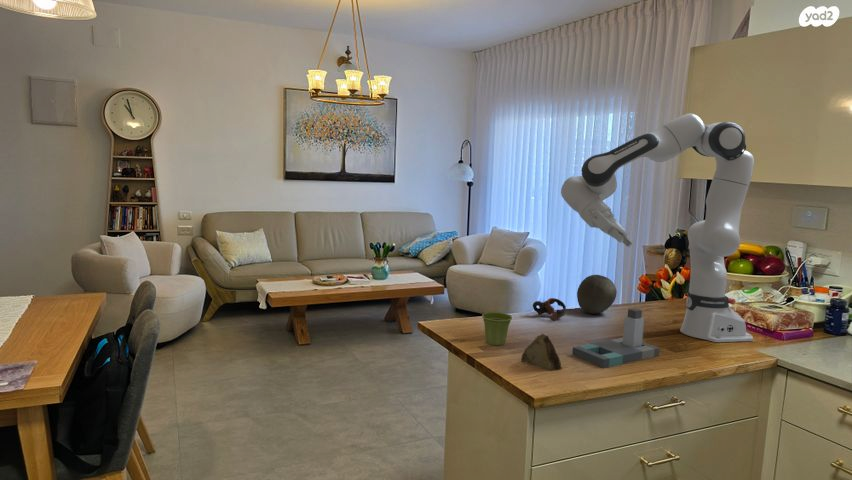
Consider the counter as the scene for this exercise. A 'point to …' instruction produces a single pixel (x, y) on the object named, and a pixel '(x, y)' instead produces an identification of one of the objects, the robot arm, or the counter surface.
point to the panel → (613, 352)
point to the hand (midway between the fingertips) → (626, 243)
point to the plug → (633, 328)
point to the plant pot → (496, 327)
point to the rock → (542, 354)
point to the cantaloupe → (596, 294)
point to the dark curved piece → (549, 308)
